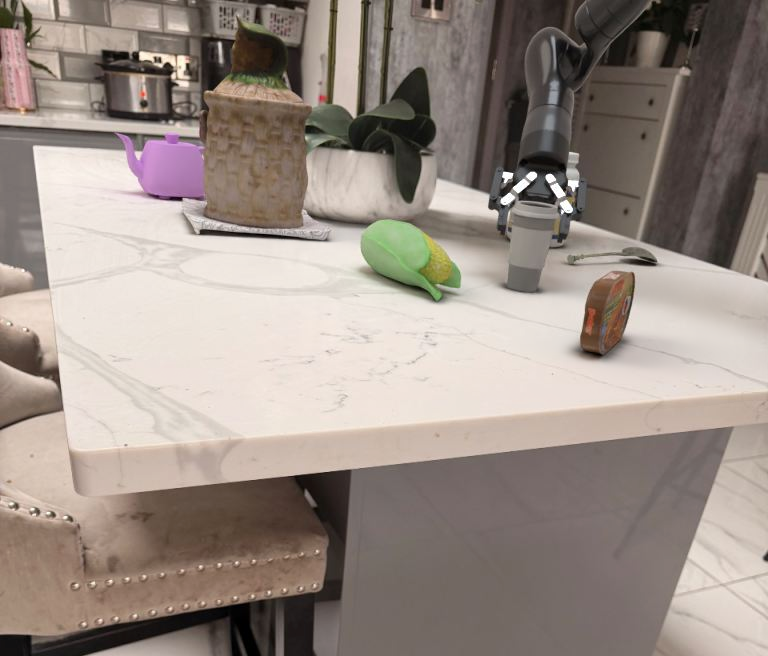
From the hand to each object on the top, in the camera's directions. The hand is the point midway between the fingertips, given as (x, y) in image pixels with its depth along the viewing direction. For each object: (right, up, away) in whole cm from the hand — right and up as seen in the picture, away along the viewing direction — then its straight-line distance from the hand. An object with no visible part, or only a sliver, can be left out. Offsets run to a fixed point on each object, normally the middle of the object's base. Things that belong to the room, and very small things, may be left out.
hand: (531, 235), depth 113 cm
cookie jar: (-46, +11, +26) cm, 54 cm away
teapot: (-67, +24, +45) cm, 84 cm away
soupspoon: (+21, +5, +30) cm, 37 cm away
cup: (-1, -7, +3) cm, 8 cm away
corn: (-19, -8, -1) cm, 20 cm away
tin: (+4, -21, -20) cm, 29 cm away
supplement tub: (+9, +13, +41) cm, 44 cm away
